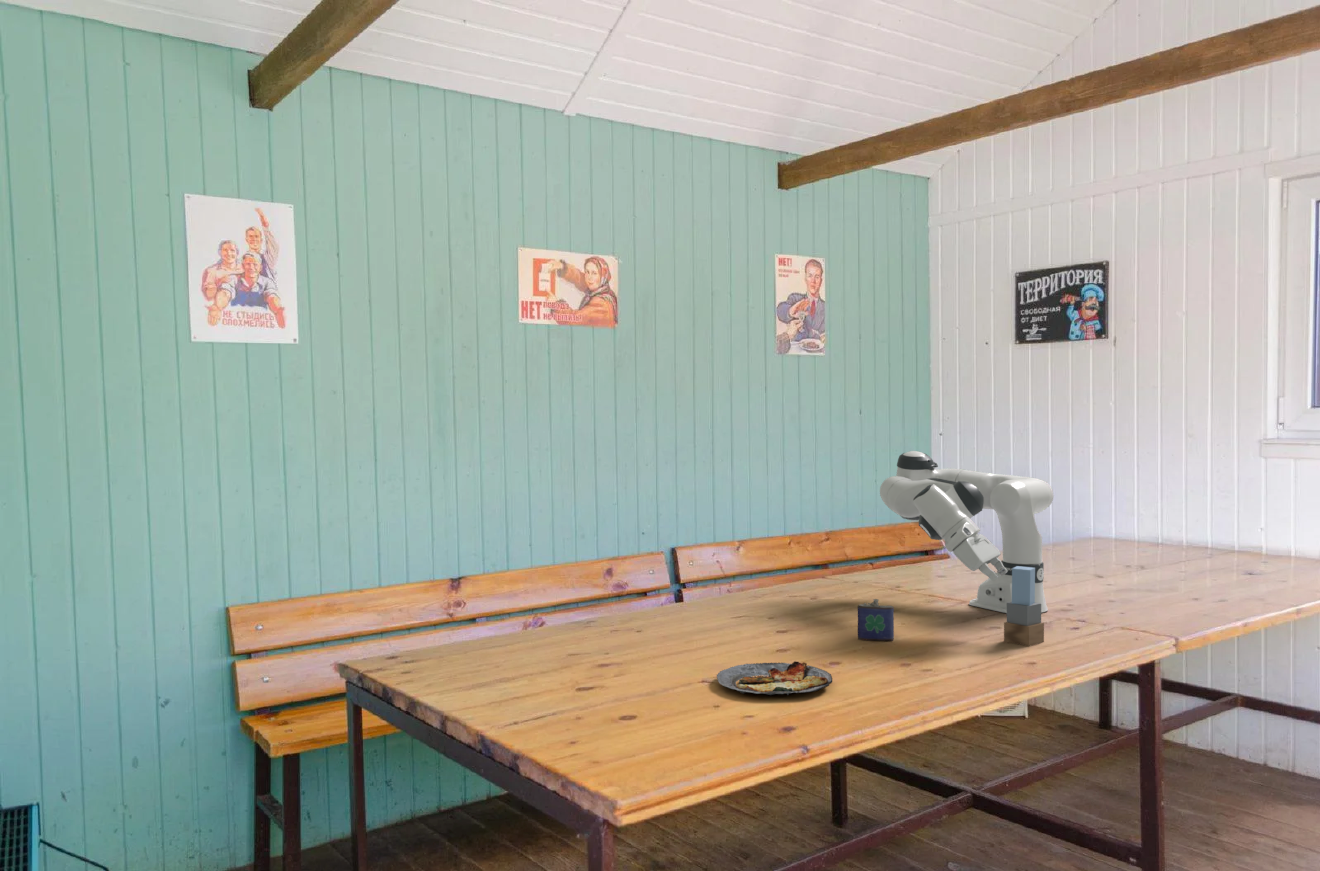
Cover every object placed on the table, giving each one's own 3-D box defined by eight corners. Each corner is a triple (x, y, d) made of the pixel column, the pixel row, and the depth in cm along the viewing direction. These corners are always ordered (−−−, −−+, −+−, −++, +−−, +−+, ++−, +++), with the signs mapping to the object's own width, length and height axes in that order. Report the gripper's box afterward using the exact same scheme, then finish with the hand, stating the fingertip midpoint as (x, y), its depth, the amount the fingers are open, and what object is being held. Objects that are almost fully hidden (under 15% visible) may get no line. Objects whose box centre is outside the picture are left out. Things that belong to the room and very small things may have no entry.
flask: (894, 639, 252) (893, 598, 252) (893, 642, 249) (893, 600, 249) (857, 637, 255) (857, 597, 254) (857, 640, 252) (856, 599, 252)
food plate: (821, 669, 223) (820, 654, 223) (843, 700, 200) (843, 683, 200) (712, 674, 222) (712, 658, 222) (722, 705, 199) (722, 688, 199)
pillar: (1011, 603, 248) (1012, 568, 248) (1016, 600, 252) (1017, 566, 252) (1029, 605, 246) (1030, 570, 245) (1034, 602, 249) (1035, 567, 249)
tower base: (1004, 641, 250) (1004, 622, 249) (1018, 637, 254) (1018, 618, 254) (1029, 646, 244) (1029, 626, 244) (1043, 642, 248) (1043, 622, 248)
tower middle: (1006, 621, 250) (1006, 602, 250) (1020, 619, 253) (1020, 599, 253) (1027, 626, 245) (1027, 606, 245) (1041, 622, 248) (1041, 603, 248)
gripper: (965, 539, 266) (1001, 578, 261) (943, 548, 249) (981, 590, 244) (982, 524, 264) (1019, 563, 259) (960, 532, 247) (999, 574, 242)
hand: (1000, 576), depth 251 cm, fingers open, 8 cm apart
